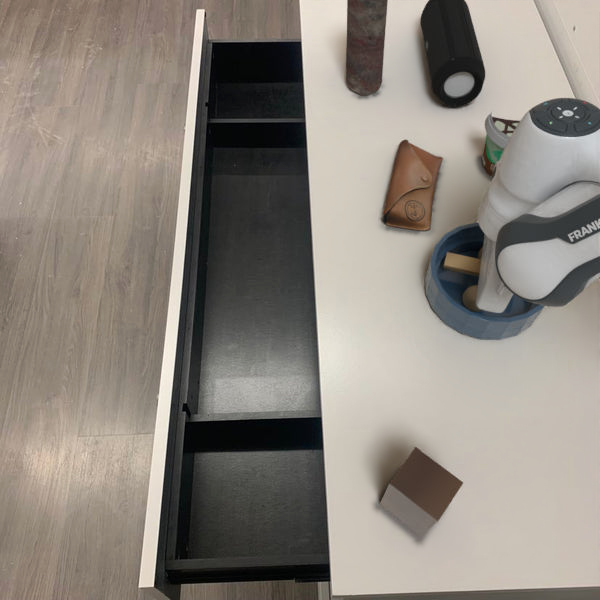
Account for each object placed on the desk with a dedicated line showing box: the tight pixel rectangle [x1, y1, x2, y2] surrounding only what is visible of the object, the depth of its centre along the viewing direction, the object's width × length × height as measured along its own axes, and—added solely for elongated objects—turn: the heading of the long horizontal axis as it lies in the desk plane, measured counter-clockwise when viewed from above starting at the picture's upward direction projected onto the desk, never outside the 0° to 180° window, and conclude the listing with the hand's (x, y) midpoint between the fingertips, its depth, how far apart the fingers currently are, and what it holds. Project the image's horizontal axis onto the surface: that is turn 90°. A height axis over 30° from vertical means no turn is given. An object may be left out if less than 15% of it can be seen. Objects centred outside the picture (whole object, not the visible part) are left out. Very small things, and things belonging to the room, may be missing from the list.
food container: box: [481, 110, 521, 177], centre depth 90 cm, size 12×6×10 cm, turn 70°
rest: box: [379, 446, 464, 538], centre depth 61 cm, size 6×5×12 cm
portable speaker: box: [419, 0, 486, 108], centre depth 105 cm, size 26×10×10 cm, turn 179°
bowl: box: [424, 221, 546, 341], centre depth 79 cm, size 17×17×6 cm
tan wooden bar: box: [443, 252, 481, 276], centre depth 79 cm, size 12×2×1 cm, turn 72°
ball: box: [463, 285, 483, 312], centre depth 78 cm, size 4×4×4 cm
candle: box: [345, 0, 388, 96], centre depth 100 cm, size 8×7×20 cm
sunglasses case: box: [382, 138, 444, 232], centre depth 92 cm, size 18×7×7 cm
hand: (485, 271), depth 79 cm, fingers closed on tan wooden bar, 2 cm apart
